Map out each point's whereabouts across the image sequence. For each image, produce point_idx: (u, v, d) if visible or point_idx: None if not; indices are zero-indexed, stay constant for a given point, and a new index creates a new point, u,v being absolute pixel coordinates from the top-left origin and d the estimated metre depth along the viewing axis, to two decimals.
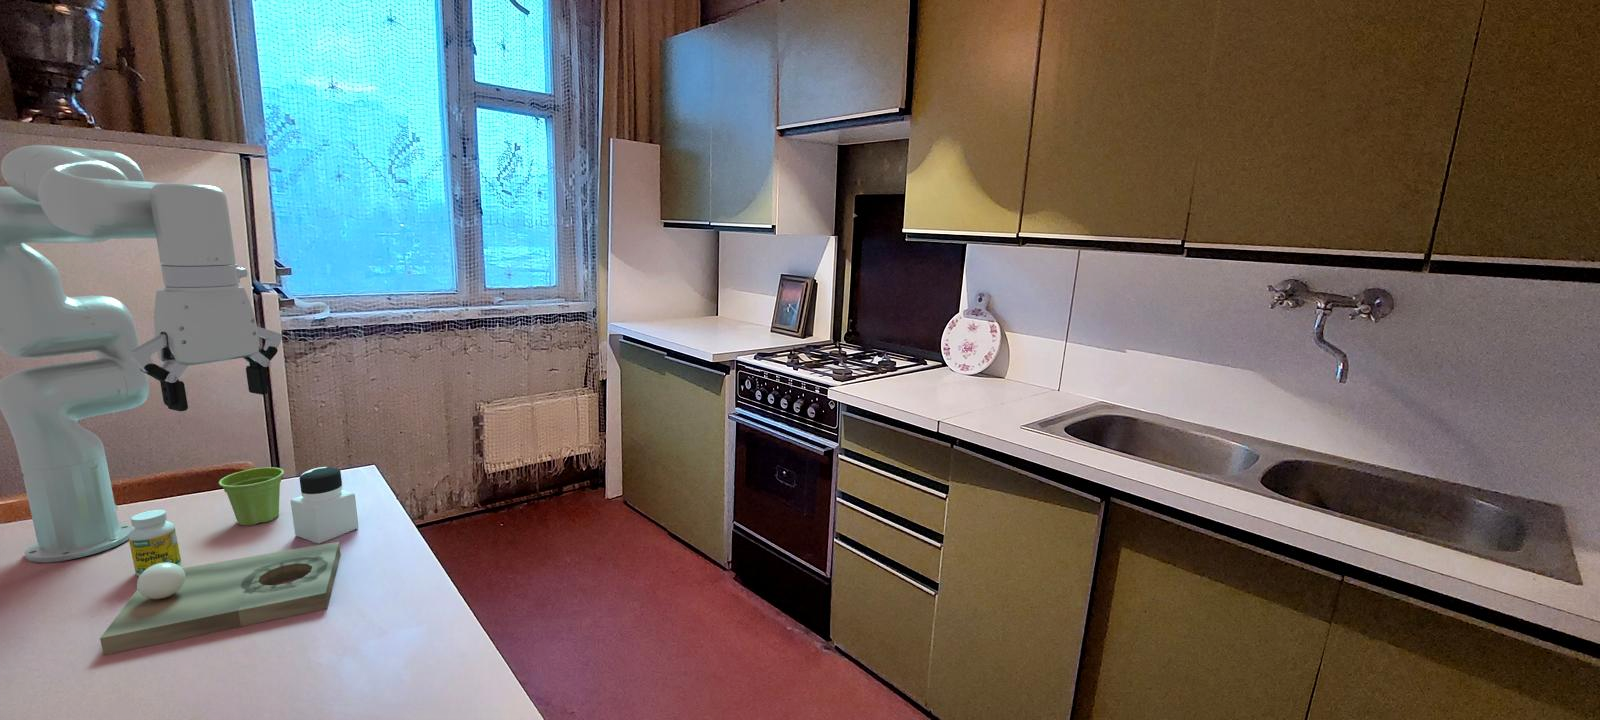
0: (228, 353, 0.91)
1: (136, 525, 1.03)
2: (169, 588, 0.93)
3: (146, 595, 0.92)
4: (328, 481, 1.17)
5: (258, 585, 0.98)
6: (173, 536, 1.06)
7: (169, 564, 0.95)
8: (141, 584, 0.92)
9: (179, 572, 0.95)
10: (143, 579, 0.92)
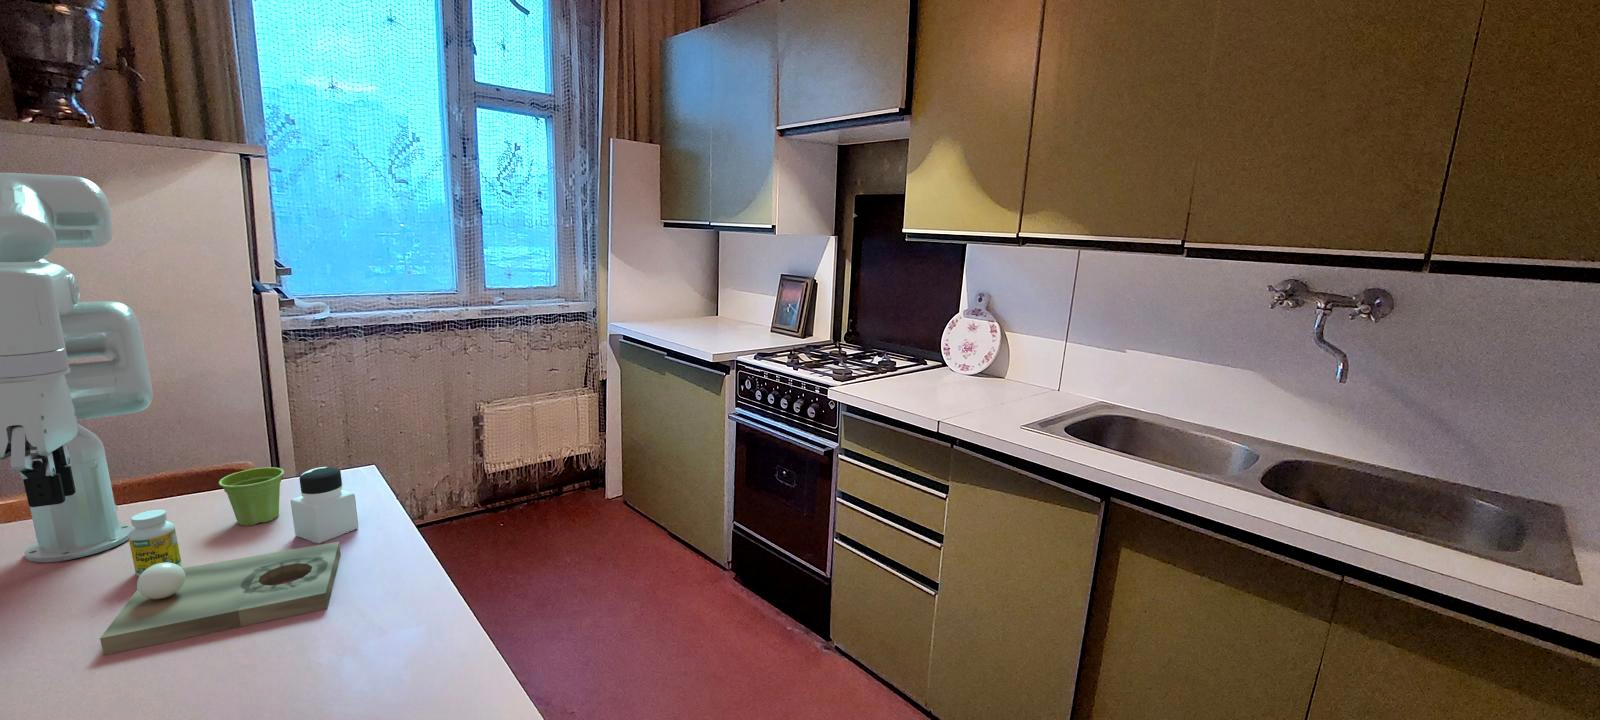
0: (66, 438, 0.87)
1: (136, 525, 1.03)
2: (169, 588, 0.93)
3: (146, 595, 0.92)
4: (328, 481, 1.17)
5: (258, 585, 0.98)
6: (173, 536, 1.06)
7: (169, 564, 0.95)
8: (141, 584, 0.92)
9: (179, 572, 0.95)
10: (143, 579, 0.92)
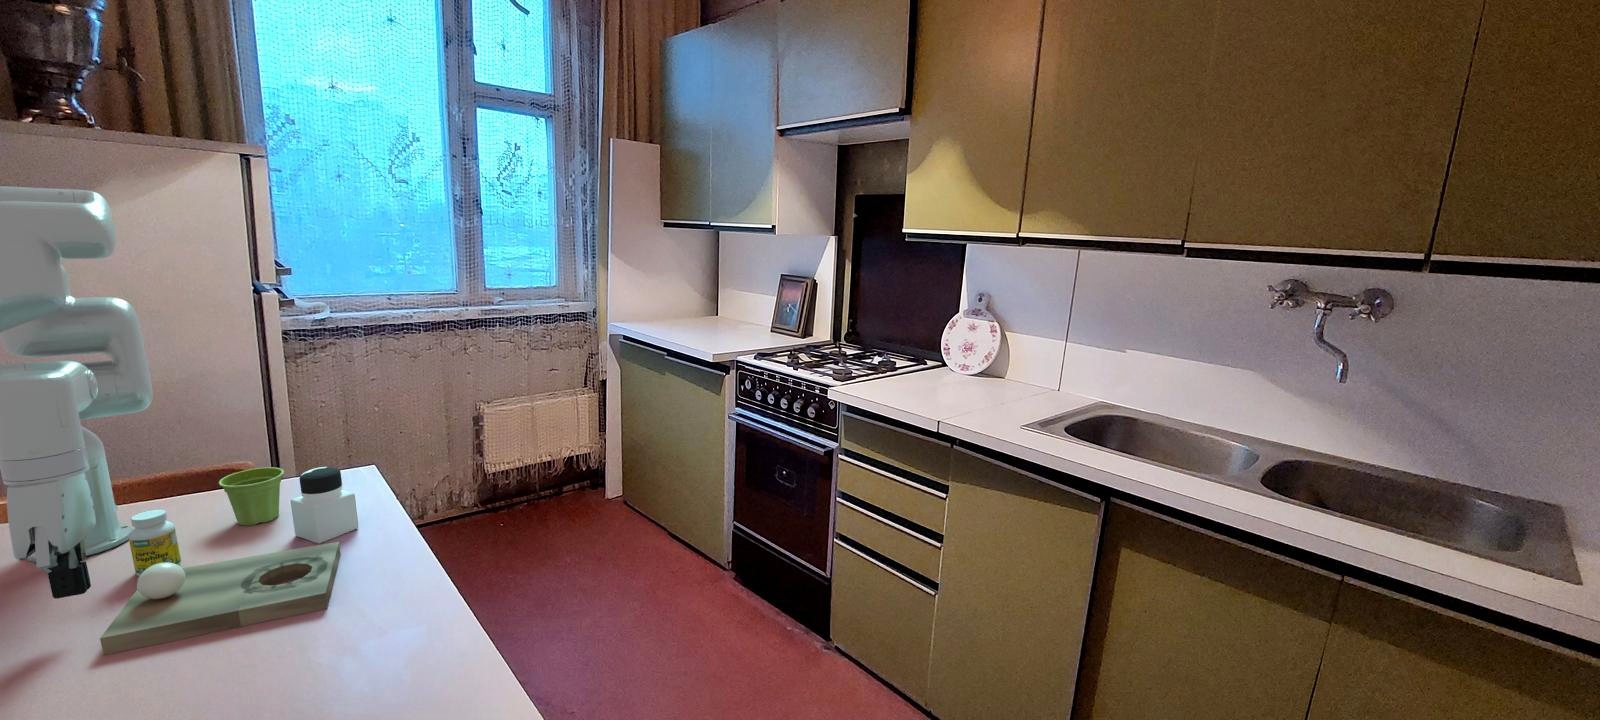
0: (85, 532, 0.90)
1: (136, 525, 1.03)
2: (169, 588, 0.93)
3: (146, 595, 0.92)
4: (328, 481, 1.17)
5: (258, 585, 0.98)
6: (173, 536, 1.06)
7: (169, 564, 0.95)
8: (141, 584, 0.92)
9: (179, 572, 0.95)
10: (143, 579, 0.92)
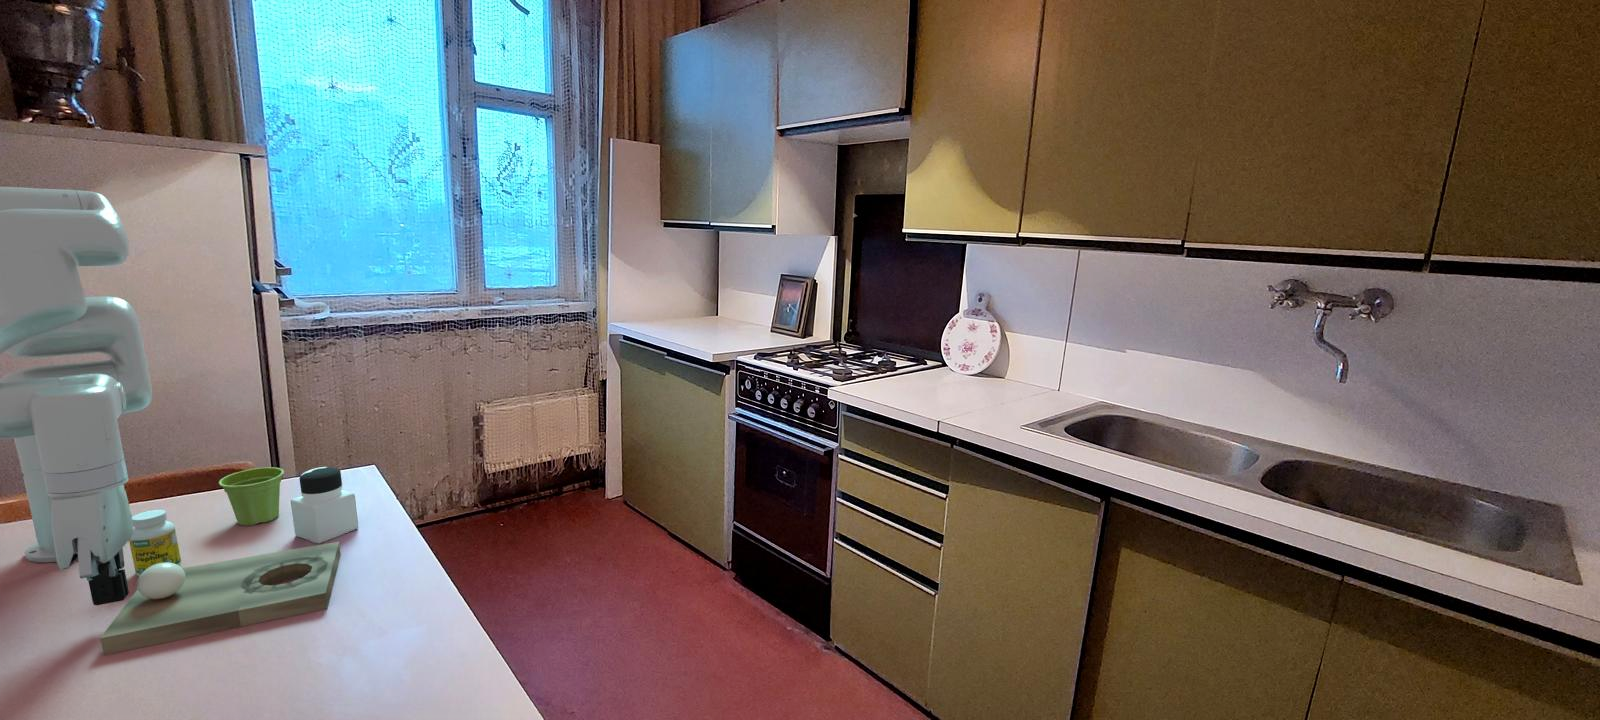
0: (124, 541, 0.92)
1: (136, 525, 1.03)
2: (169, 588, 0.93)
3: (146, 595, 0.92)
4: (328, 481, 1.17)
5: (258, 585, 0.98)
6: (173, 536, 1.06)
7: (169, 564, 0.95)
8: (141, 584, 0.92)
9: (179, 572, 0.95)
10: (143, 579, 0.92)
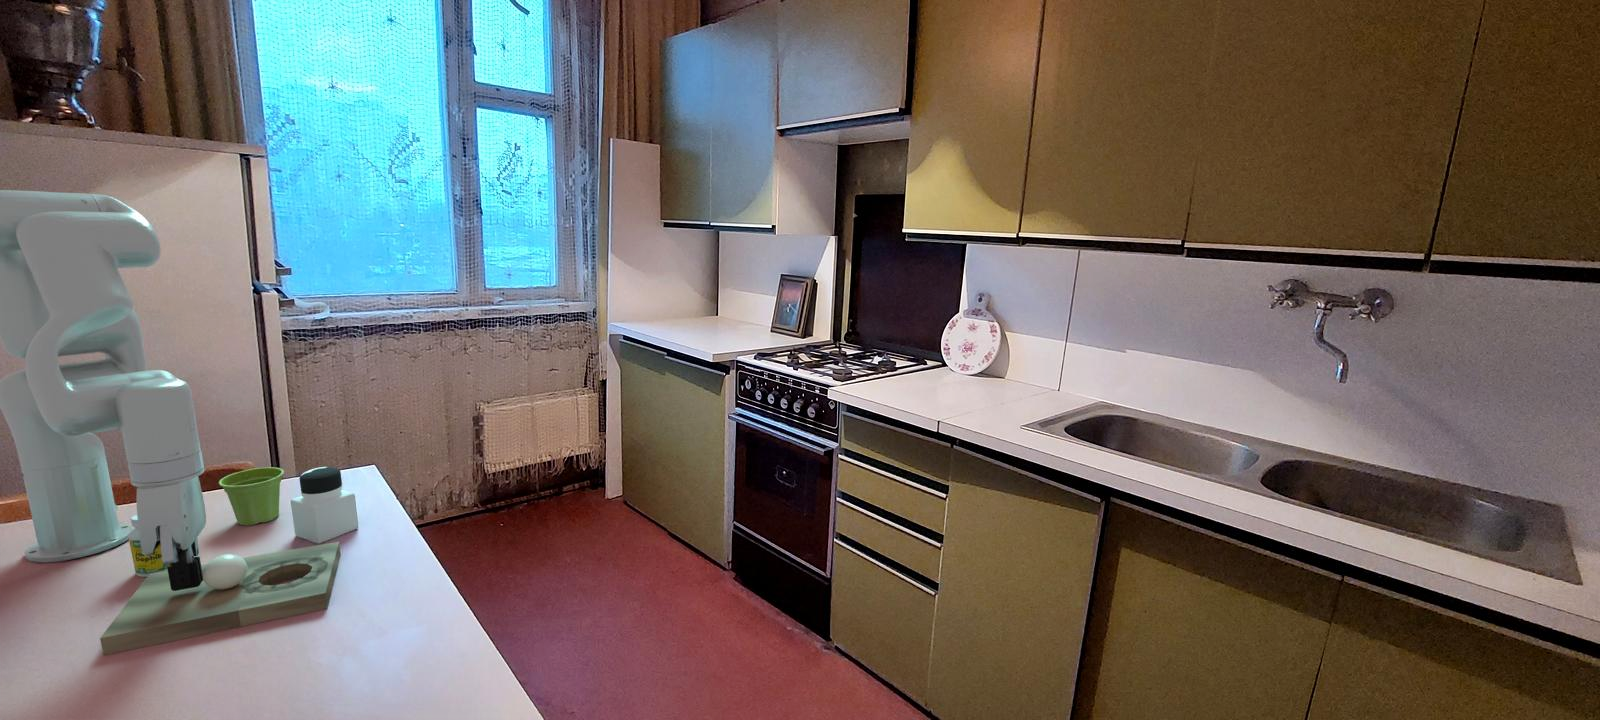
0: (199, 529, 0.96)
1: (136, 525, 1.03)
2: (205, 579, 0.95)
3: (224, 569, 0.95)
4: (328, 481, 1.17)
5: (258, 585, 0.98)
6: None
7: None
8: (232, 578, 0.96)
9: None
10: (233, 582, 0.96)
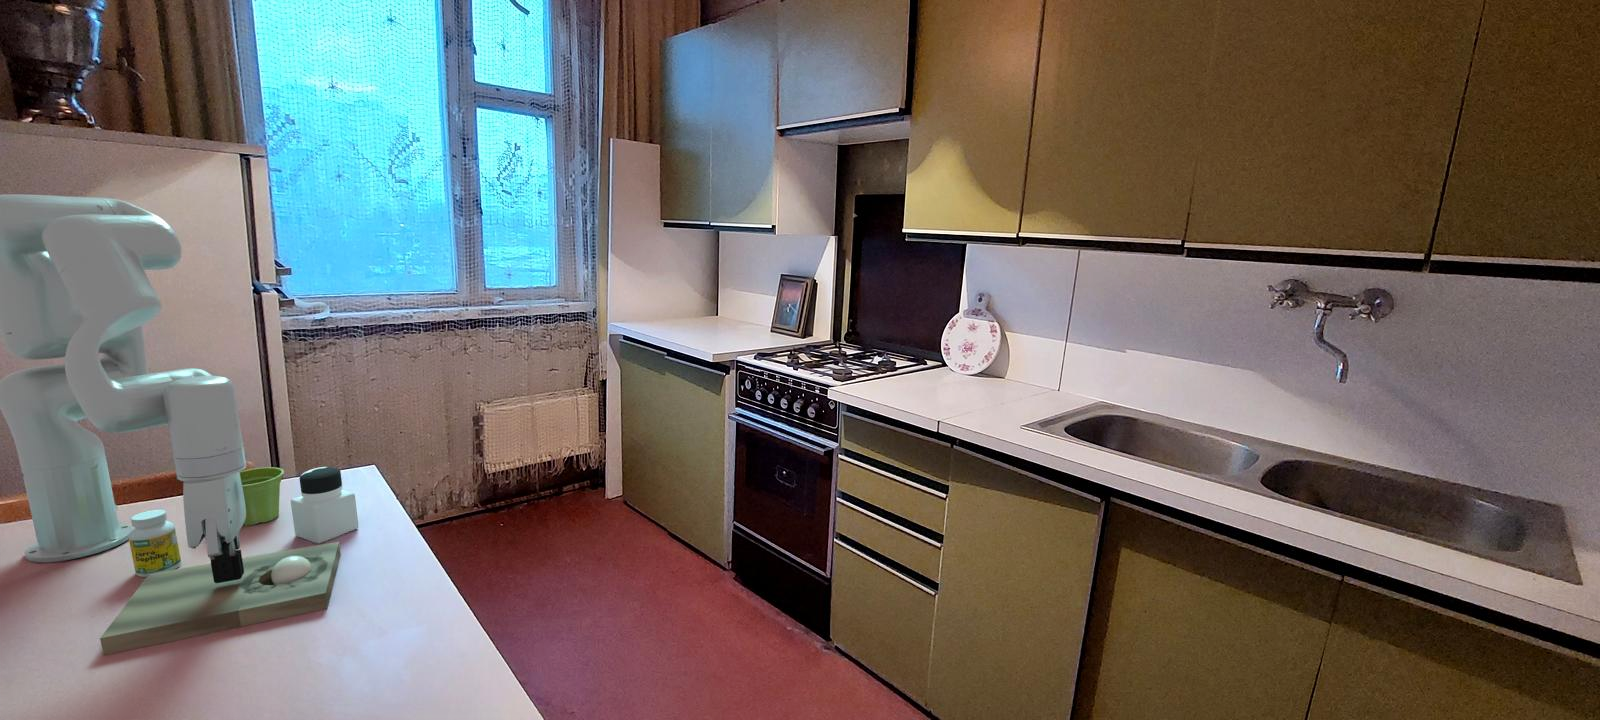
0: (241, 523, 0.98)
1: (136, 525, 1.03)
2: (308, 569, 1.02)
3: (288, 576, 1.00)
4: (328, 481, 1.17)
5: (258, 585, 0.98)
6: (173, 536, 1.06)
7: None
8: (285, 566, 1.00)
9: None
10: (285, 561, 1.01)
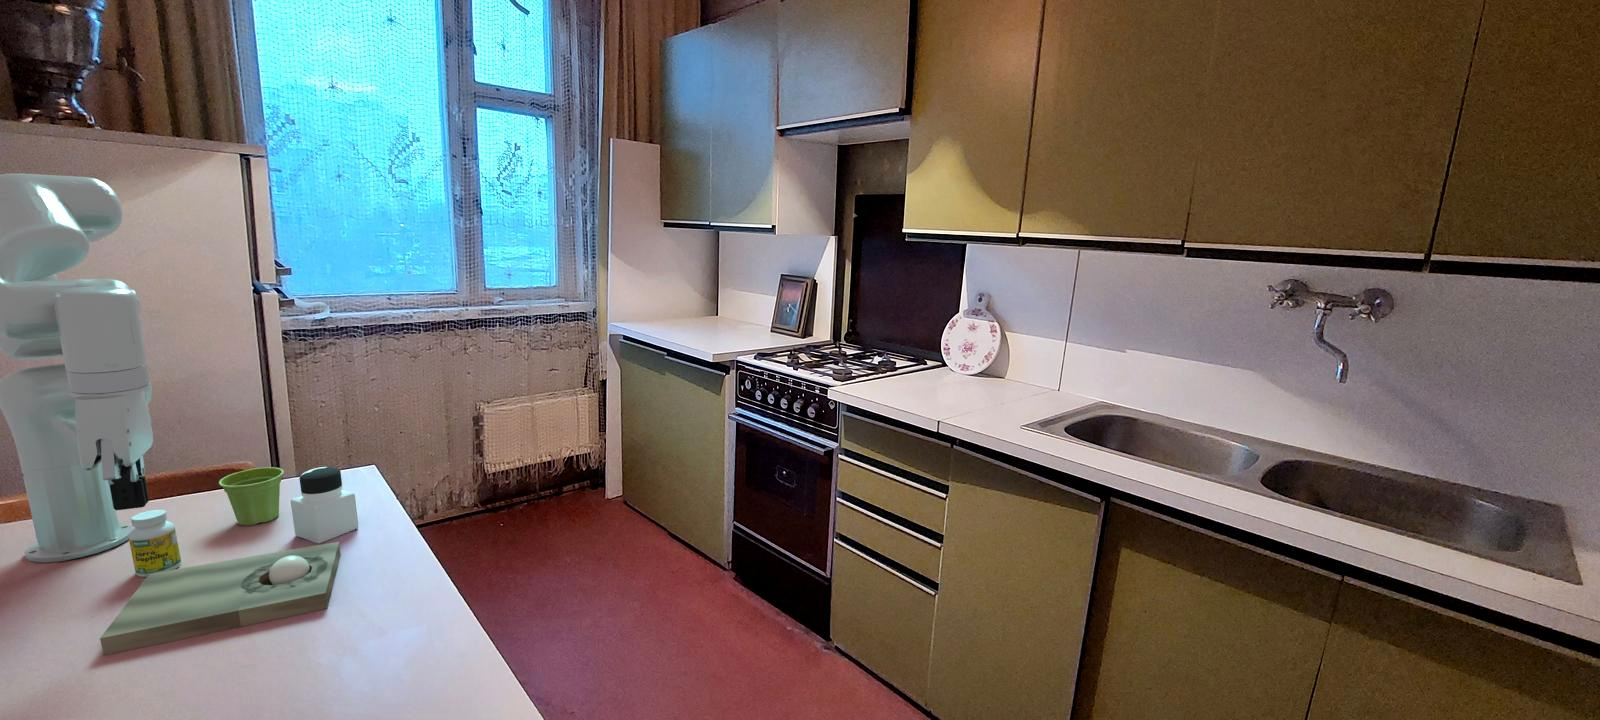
0: (145, 448, 0.92)
1: (136, 525, 1.03)
2: (305, 566, 1.02)
3: (285, 574, 1.00)
4: (328, 481, 1.17)
5: (258, 585, 0.98)
6: (173, 536, 1.06)
7: None
8: (280, 565, 1.00)
9: None
10: (281, 561, 1.01)
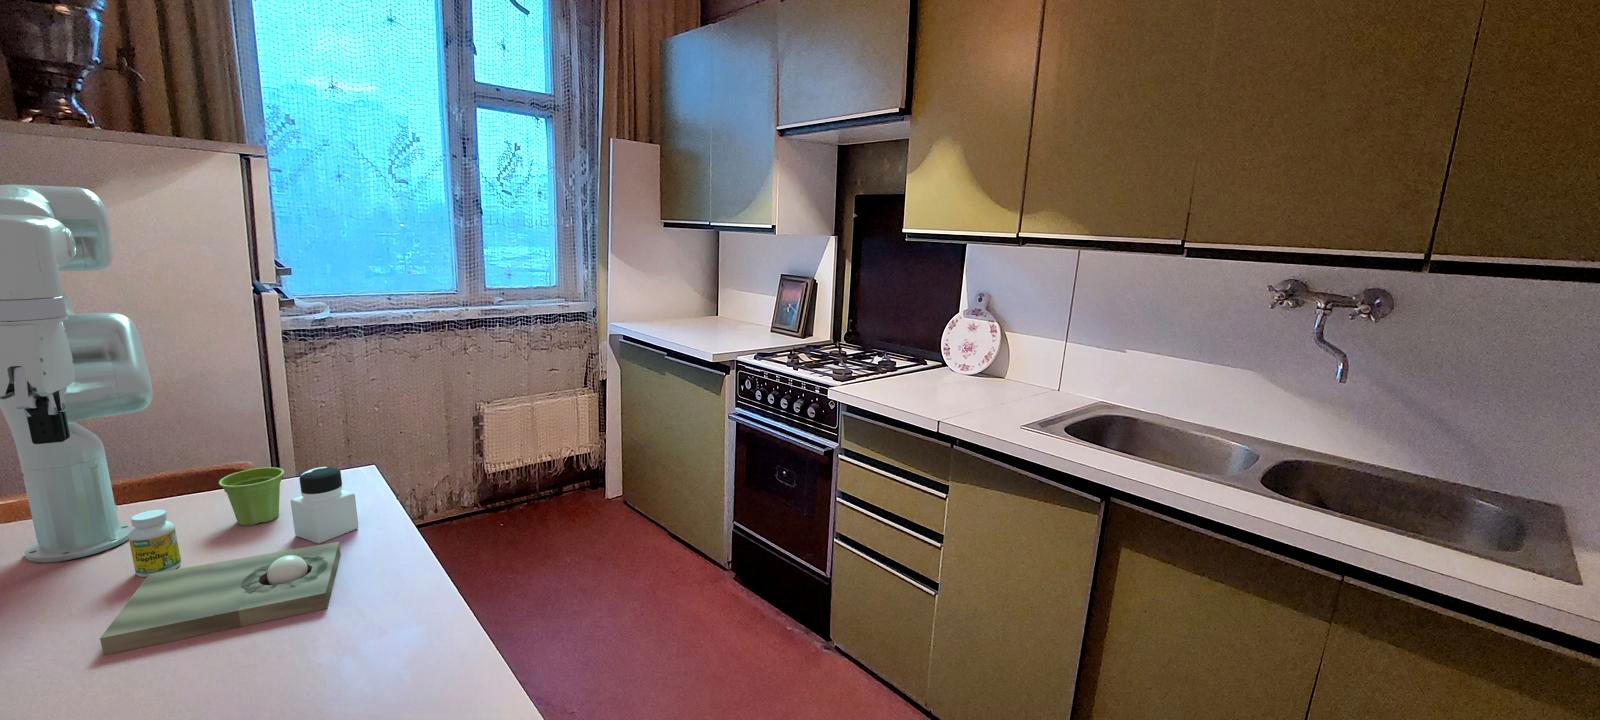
0: (64, 382, 0.92)
1: (136, 525, 1.03)
2: (302, 564, 1.02)
3: (282, 572, 1.00)
4: (328, 481, 1.17)
5: (258, 585, 0.98)
6: (173, 536, 1.06)
7: None
8: (277, 564, 1.01)
9: None
10: (277, 561, 1.01)
